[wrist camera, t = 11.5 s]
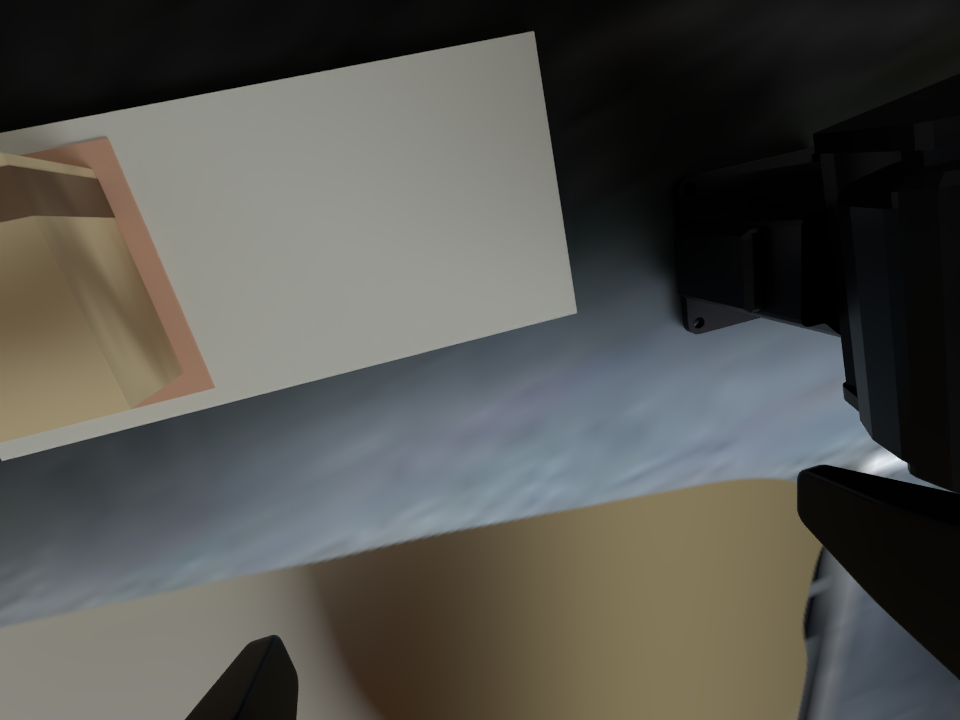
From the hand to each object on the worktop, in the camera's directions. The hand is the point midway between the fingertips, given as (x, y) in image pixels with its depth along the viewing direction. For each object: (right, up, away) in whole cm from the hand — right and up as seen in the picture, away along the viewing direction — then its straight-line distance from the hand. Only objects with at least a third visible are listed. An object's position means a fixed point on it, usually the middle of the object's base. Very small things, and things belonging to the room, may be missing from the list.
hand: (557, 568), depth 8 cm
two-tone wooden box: (-15, +6, +8) cm, 18 cm away
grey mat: (-9, +7, +9) cm, 15 cm away
